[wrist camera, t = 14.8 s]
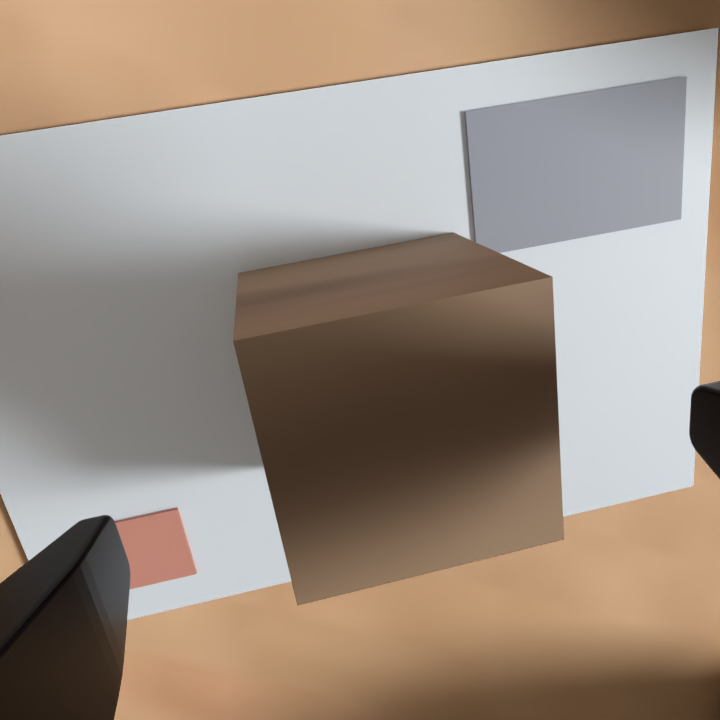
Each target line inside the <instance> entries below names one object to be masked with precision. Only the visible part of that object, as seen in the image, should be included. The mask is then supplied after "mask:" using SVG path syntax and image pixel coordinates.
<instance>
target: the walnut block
mask: <svg viewBox="0 0 720 720" xmlns="http://www.w3.org/2000/svg"><path fill="white" fill-rule="evenodd" d="M233 343H234V347H235V351H236V355H237V359H238V364H239V368H240V372H241V376H242V380H243V384H244V388H245V392H246V396H247V400H248V405H249V409H250V413H251V417H252V421H253V425H254V429H255V433H256V437H257V441H258V446H259V450H260V454H261V458H262V462H263V466H264V470H265V474H266V478H267V483H268V487H269V491H270V495H271V499H272V503H273V507H274V511H275V515H276V519H277V524H278V528H279V532H280V536H281V540H282V544H283V548H284V552H285V556H286V561H287V565H288V569H289V573H290V577H291V581H292V585H293V589H294V593H295V597H296V602H297V606H298V605H302V604H306V603H310V602H314V601H318V600H322V599H326V598H330V597H334V596H338V595H342V594H346V593H350V592H354V591H358V590H362V589H366V588H370V587H374V586H378V585H382V584H386V583H390V582H394V581H398V580H403V579H407V578H411V577H415V576H419V575H423V574H427V573H431V572H435V571H439V570H443V569H447V568H451V567H455V566H459V565H463V564H467V563H471V562H475V561H479V560H483V559H487V558H491V557H495V556H499V555H503V554H507V553H511V552H515V551H519V550H523V549H527V548H531V547H535V546H539V545H543V544H547V543H551V542H555V541H559V540H564V529H563V506H562V483H561V460H560V437H559V414H558V390H557V367H556V344H555V321H554V298H553V277H552V276H550V275H547V274H545V273H543V272H541V271H538V270H536V269H534V268H532V267H529V266H527V265H525V264H523V263H521V262H518V261H516V260H514V259H512V258H509V257H507V256H505V255H503V254H500V253H498V252H496V251H494V250H492V249H489V248H487V247H485V246H483V245H480V244H478V243H476V242H474V241H471V240H469V239H467V238H465V237H463V236H460V235H458V234H456V233H454V232H452V233H447V234H442V235H437V236H431V237H426V238H421V239H415V240H410V241H405V242H400V243H394V244H389V245H384V246H378V247H373V248H368V249H363V250H357V251H352V252H347V253H341V254H336V255H331V256H326V257H320V258H315V259H310V260H304V261H299V262H294V263H288V264H283V265H278V266H273V267H267V268H262V269H257V270H251V271H246V272H241V273H238V281H237V295H236V308H235V321H234V334H233Z"/></svg>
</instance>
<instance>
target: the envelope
mask: <svg viewBox="0 0 720 720" xmlns="http://www.w3.org/2000/svg"><path fill="white" fill-rule="evenodd" d="M718 31H719V28H712V29H706V30H699V31H693V32H686V33H679V34H673V35H666V36H659V37H653V38H646V39H639V40H633V41H626V42H619V43H613V44H606V45H599V46H593V47H586V48H579V49H573V50H566V51H559V52H553V53H546V54H539V55H533V56H526V57H520V58H513V59H506V60H500V61H493V62H486V63H480V64H473V65H466V66H460V67H453V68H446V69H440V70H433V71H426V72H420V73H413V74H406V75H400V76H393V77H386V78H380V79H373V80H366V81H360V82H353V83H347V84H340V85H333V86H327V87H320V88H313V89H307V90H300V91H293V92H287V93H280V94H273V95H267V96H260V97H253V98H247V99H240V100H233V101H227V102H220V103H213V104H207V105H200V106H193V107H187V108H180V109H174V110H167V111H160V112H154V113H147V114H140V115H134V116H127V117H120V118H114V119H107V120H100V121H94V122H87V123H80V124H74V125H67V126H60V127H54V128H47V129H40V130H34V131H27V132H20V133H14V134H7V135H1V136H0V494H1V497H2V499H3V501H4V504H5V506H6V508H7V511H8V513H9V516H10V518H11V520H12V523H13V525H14V528H15V530H16V532H17V535H18V537H19V540H20V542H21V544H22V547H23V549H24V552H25V554H26V556H27V559H28V561H29V560H31V559H32V558H33V557H34V556H36V555H37V554H38V553H39V552H41V551H42V550H43V549H44V548H46V547H47V546H48V545H49V544H51V543H52V542H53V541H55V540H56V539H57V538H58V537H60V536H61V535H62V534H63V533H65V532H66V531H67V530H68V529H70V528H71V527H72V526H73V525H75V524H76V523H77V522H79V521H81V520H83V519H88V518H92V517H97V516H102V515H109V516H111V517H112V518H113V520H114V521H115V524H116V526H117V529H118V532H119V535H120V538H121V541H122V543H123V546H124V549H125V552H126V555H127V558H128V561H129V565H130V575H131V577H130V591H129V603H128V615H127V620H130V619H134V618H139V617H143V616H147V615H151V614H155V613H160V612H164V611H168V610H172V609H177V608H181V607H185V606H189V605H193V604H198V603H202V602H206V601H210V600H215V599H219V598H223V597H227V596H231V595H236V594H240V593H244V592H248V591H253V590H257V589H261V588H265V587H269V586H274V585H278V584H282V583H286V582H291V577H290V573H289V569H288V565H287V561H286V556H285V552H284V548H283V544H282V540H281V536H280V532H279V528H278V524H277V519H276V515H275V511H274V507H273V503H272V499H271V495H270V491H269V487H268V483H267V478H266V474H265V470H264V466H263V462H262V458H261V454H260V450H259V446H258V441H257V437H256V433H255V429H254V425H253V421H252V417H251V413H250V409H249V405H248V400H247V396H246V392H245V388H244V384H243V380H242V376H241V372H240V368H239V364H238V359H237V355H236V351H235V347H234V343H233V334H234V321H235V308H236V295H237V281H238V273H241V272H246V271H251V270H257V269H262V268H267V267H273V266H278V265H283V264H288V263H294V262H299V261H304V260H310V259H315V258H320V257H326V256H331V255H336V254H341V253H347V252H352V251H357V250H363V249H368V248H373V247H378V246H384V245H389V244H394V243H400V242H405V241H410V240H415V239H421V238H426V237H431V236H437V235H442V234H447V233H452V232H454V233H456V234H458V235H460V236H463V237H465V238H467V239H469V240H471V241H474V242H476V243H478V244H480V245H483V246H485V247H487V248H489V249H492V250H494V251H496V252H498V253H500V254H503V255H505V256H507V257H509V258H512V259H514V260H516V261H518V262H521V263H523V264H525V265H527V266H529V267H532V268H534V269H536V270H538V271H541V272H543V273H545V274H547V275H550V276H552V277H553V298H554V321H555V344H556V367H557V390H558V414H559V437H560V460H561V483H562V506H563V517H565V516H569V515H573V514H577V513H582V512H586V511H590V510H594V509H599V508H603V507H607V506H611V505H615V504H620V503H624V502H628V501H632V500H637V499H641V498H645V497H649V496H653V495H658V494H662V493H666V492H670V491H675V490H679V489H683V488H687V487H691V486H693V483H694V464H695V449H694V447H693V445H692V443H691V440H690V436H689V425H690V406H691V394H692V392H693V390H694V389H695V388H696V387H697V386H699V374H700V356H701V338H702V320H703V302H704V284H705V266H706V248H707V230H708V211H709V193H710V175H711V157H712V139H713V121H714V103H715V85H716V67H717V49H718Z"/></svg>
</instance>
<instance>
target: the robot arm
mask: <svg viewBox="0 0 720 720" xmlns="http://www.w3.org/2000/svg"><path fill="white" fill-rule="evenodd" d="M689 436H690V440H691V443H692V445H693V447H694V449H695V450H696V451H697V452H698V454H699V455H700V456H701V457H702V458H703V460H704V461H705V462H706V463H707V464H708V466H709V467H710V468H711V469H712V470H713V472H714V473H715V474H716V475H717V476H718V478H719V479H720V381H718V382H713V383H708V384H704V385H700V386H697V387H696V388H695V389H694V390H693V392H692V394H691V406H690V425H689ZM130 577H131V575H130V565H129V561H128V558H127V555H126V552H125V549H124V546H123V543H122V541H121V538H120V535H119V532H118V529H117V526H116V524H115V521H114V520H113V518H112V517H111V516H109V515H102V516H97V517H92V518H88V519H83V520H81V521H79V522H77V523H76V524H75V525H73V526H72V527H71V528H70V529H68V530H67V531H66V532H65V533H63V534H62V535H61V536H60V537H58V538H57V539H56V540H55V541H53V542H52V543H51V544H49V545H48V546H47V547H46V548H44V549H43V550H42V551H41V552H39V553H38V554H37V555H36V556H34V557H33V558H32V559H31V560H29V561H28V562H27V563H25V564H24V565H23V566H22V567H20V568H19V569H18V570H17V571H15V572H14V573H13V574H12V575H10V576H9V577H8V578H7V579H5V580H4V581H3V582H1V583H0V720H114V716H115V711H116V706H117V701H118V697H119V691H120V685H121V680H122V673H123V663H124V652H125V640H126V628H127V615H128V603H129V591H130Z"/></svg>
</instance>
